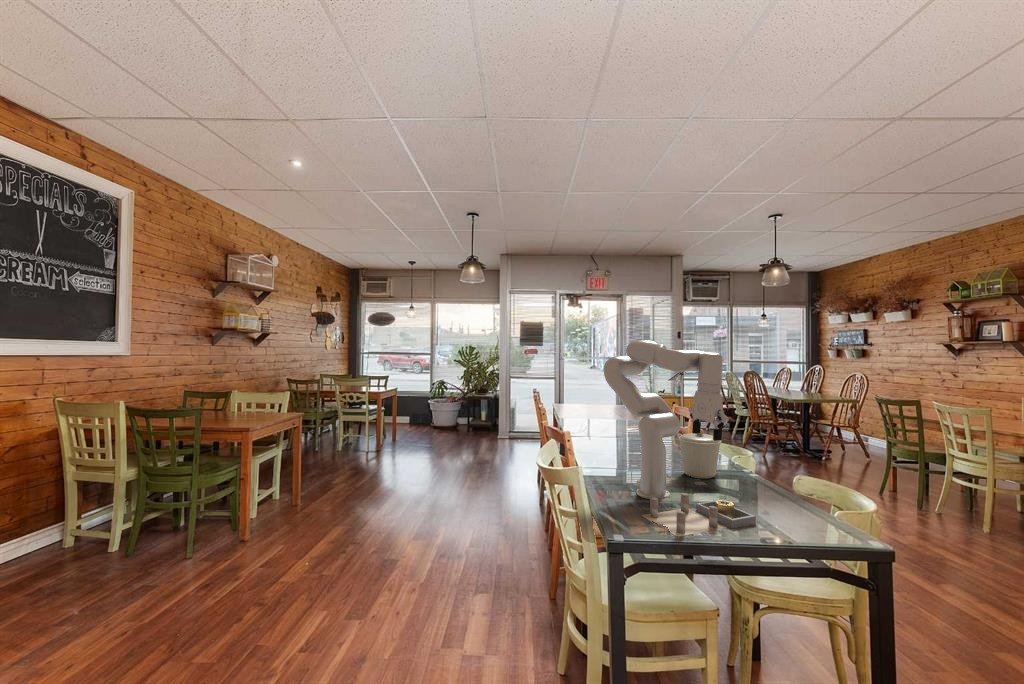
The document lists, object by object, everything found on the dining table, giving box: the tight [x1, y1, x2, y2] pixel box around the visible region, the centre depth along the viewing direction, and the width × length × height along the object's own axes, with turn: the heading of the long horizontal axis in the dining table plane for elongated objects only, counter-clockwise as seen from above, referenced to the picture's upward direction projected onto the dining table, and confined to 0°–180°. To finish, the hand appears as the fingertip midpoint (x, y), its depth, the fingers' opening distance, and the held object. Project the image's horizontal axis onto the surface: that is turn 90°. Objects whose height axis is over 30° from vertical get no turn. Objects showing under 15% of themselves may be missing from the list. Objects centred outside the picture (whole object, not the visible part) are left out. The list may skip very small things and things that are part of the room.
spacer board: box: [640, 492, 729, 538], centre depth 153 cm, size 18×20×7 cm
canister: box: [678, 428, 722, 480], centre depth 208 cm, size 18×18×21 cm
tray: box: [695, 499, 757, 529], centre depth 157 cm, size 16×10×4 cm, turn 21°
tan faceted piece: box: [714, 499, 735, 519], centre depth 157 cm, size 5×6×5 cm
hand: (706, 436), depth 162 cm, fingers open, 9 cm apart
